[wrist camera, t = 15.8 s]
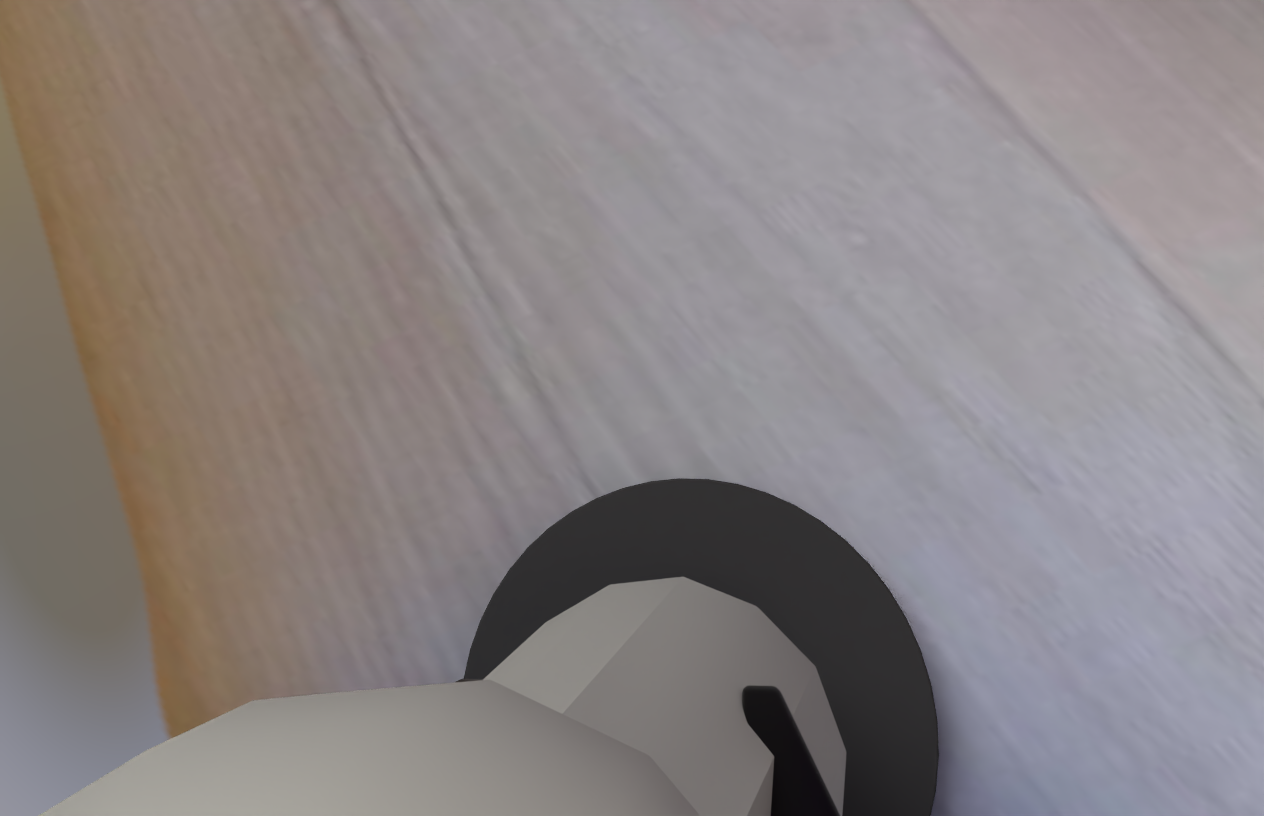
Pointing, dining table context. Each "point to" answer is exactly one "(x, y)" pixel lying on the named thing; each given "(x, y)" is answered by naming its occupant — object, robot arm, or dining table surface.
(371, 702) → the salt shaker
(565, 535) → the disc
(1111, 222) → the dining table surface
